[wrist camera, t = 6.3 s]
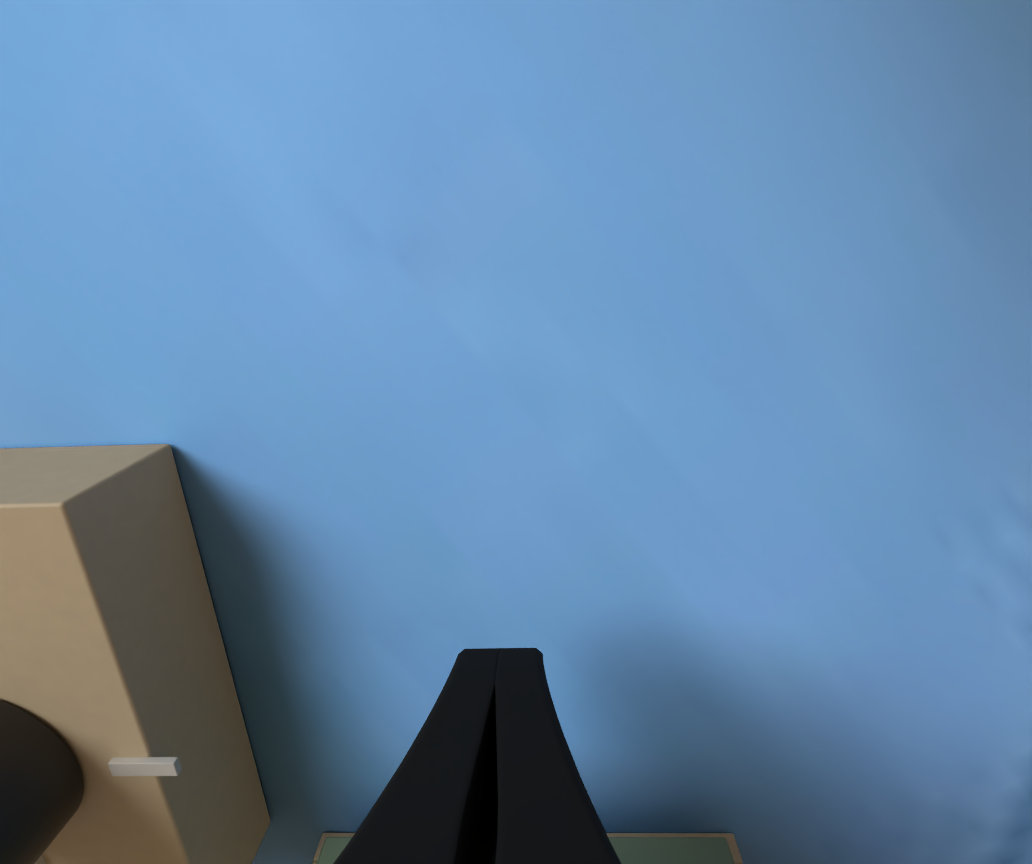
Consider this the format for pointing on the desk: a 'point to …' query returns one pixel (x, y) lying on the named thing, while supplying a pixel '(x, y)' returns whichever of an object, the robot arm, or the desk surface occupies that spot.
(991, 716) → the desk surface
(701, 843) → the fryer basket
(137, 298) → the desk surface
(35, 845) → the timer dial
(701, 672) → the desk surface
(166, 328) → the desk surface
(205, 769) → the block
